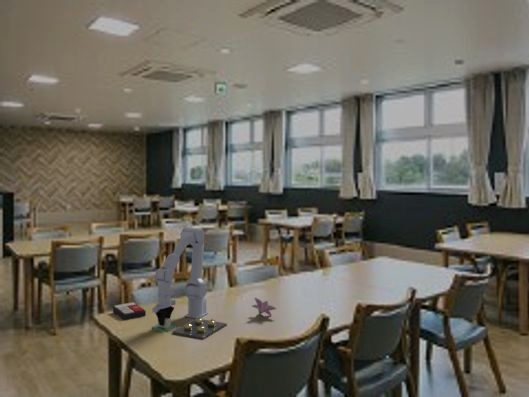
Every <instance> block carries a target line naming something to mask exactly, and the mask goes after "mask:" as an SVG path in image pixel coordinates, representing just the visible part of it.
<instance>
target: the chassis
mask: <svg viewBox="0 0 529 397" xmlns="http://www.w3.org/2000/svg"><path fill="white" fill-rule="evenodd" d="M227 325H228V324H227V322H221V321H216V320H215V319H213V318H211V319H210V320H209V319H203V318H202V317H199V318H194V320H192V321H190V322H189V321H188V322H187V323H185V324H184V325H182V326H180V327H179V328H175V329H173V330H171V331H172V332H171V334H172V335H177V336H184V337H187V338H193V339H198V340H205V339H207V338H209V337H211V336H212V335H214V334H216V332H218V331H220V330H222V329H223V328H225V327H227Z"/></svg>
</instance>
